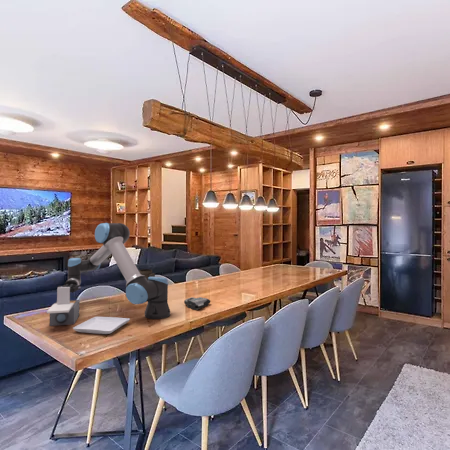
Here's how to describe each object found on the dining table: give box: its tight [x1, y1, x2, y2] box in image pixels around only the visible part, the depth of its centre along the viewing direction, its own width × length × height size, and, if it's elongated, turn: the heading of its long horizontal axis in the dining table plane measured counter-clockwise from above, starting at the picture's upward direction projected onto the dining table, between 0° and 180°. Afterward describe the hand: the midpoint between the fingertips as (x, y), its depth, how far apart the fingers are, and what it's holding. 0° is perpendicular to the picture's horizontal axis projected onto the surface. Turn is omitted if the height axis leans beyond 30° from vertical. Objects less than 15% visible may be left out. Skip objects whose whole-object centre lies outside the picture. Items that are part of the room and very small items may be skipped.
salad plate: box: [72, 316, 131, 335], centre depth 169 cm, size 21×21×3 cm
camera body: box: [49, 299, 80, 327], centre depth 181 cm, size 20×12×9 cm, turn 16°
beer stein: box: [138, 268, 156, 281], centre depth 245 cm, size 15×11×20 cm
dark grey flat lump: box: [183, 296, 211, 311], centre depth 216 cm, size 16×20×5 cm
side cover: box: [46, 286, 74, 314], centre depth 171 cm, size 16×10×10 cm, turn 16°
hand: (63, 293), depth 179 cm, fingers closed
